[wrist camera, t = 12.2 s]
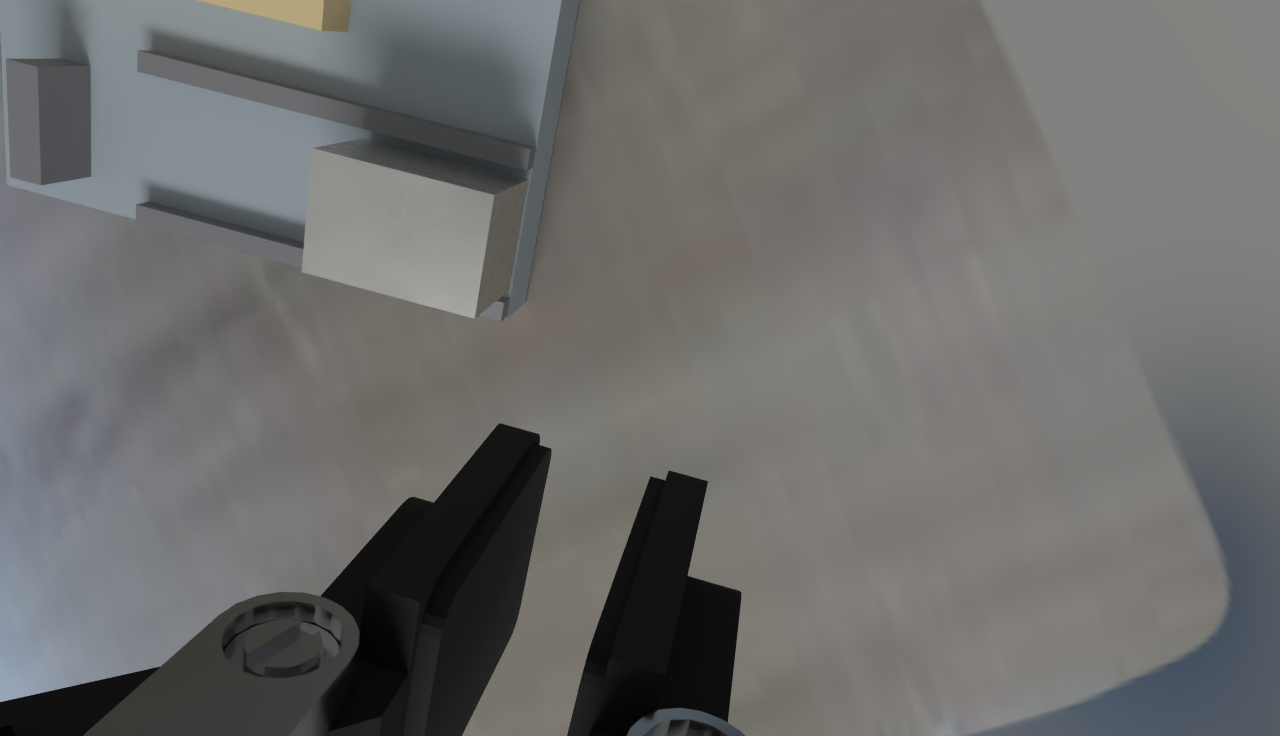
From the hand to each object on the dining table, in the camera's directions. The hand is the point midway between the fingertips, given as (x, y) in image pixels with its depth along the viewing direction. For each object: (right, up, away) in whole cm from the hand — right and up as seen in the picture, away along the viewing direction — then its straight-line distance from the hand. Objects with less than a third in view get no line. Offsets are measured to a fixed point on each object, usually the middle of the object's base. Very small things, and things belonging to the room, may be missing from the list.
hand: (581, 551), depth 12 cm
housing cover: (-5, +7, +14) cm, 17 cm away
